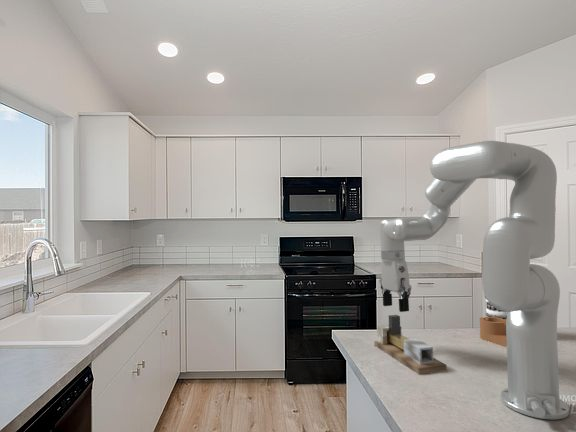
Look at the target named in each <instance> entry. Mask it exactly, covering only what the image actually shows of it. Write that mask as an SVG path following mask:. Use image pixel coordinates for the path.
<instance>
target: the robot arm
mask: <svg viewBox="0 0 576 432" xmlns="http://www.w3.org/2000/svg"><path fill="white" fill-rule="evenodd" d="M429 170H430V174H431V175H432V177H433V179H432V180H431V181H430V182H429V183H428V185H426V187H425V188H424V195H425V197H426V199H427V200H428V202H430V203H431V205H430V206H429V208H428V209H427V210H426V212H425V213H424V214H422V215H421V216H403V217H397V218H396V217H395V218H389V219H388V218H387V219H385V218H384V219H382V220H380V222H379V237H380V239H379V240H380V255H381V256H380V257H381V259H380V260H381V274H380V275H381V278H380V279H379V284H380V289H381V294H382V305H383V306H384V307H391V306H393V294H392V293H391V292H394V293H397V295H398V296H399V298H398V310H399V312H400V313H405V312H409V311H410V301H409V299H410V296H411V294H412V293H411V291H412V285H411V284H410V277H409V269H408V265H407V261H406V252H405V251H406V250H405V242H414V241H426V240H428V239H430V238H432V237H433V236H435V234H437V233H438V232H439V230H441V229H442V228H443V227H444V226H445V224H447V222H448V219H449V216H450V212H451V207H452V205H454V203H455V202H456V201H457V200H458V199H459V198H460V197H461V196H462V195H463V194H464V193H465V192H466V191H467V190H468V189H469V188H470V187H471V186H472V185H473V183H475V181H476V180H477V179H493V180H494V179H496V180H509V181H513V182H514V186H513V188H512V189H511V190H512V191H511V193H510V198H509V214H508V216H506V217H502V218H499V219H496V220H495V221H494V222H492V223H491V224H490V225H489V226H488V228H487V230H486V232H485V234H484V237H483V242H482V243H483V245H482V247H483V248H482V271H481V272H482V276H481V277H482V279H481V281H482V290H483V291H482V292H483V295H484V298H485V297H486V298H485V299H487V300H488V302H489V303H490V304H491V305H492V306H493V307H495V308H496V309H498V310H501V311H504V312H507V319H506V339H507V347H506V361H507V362H506V365H507V386H508V387H507V388H505V389H503V390H502V391H501V392H500V400H501V401H502V403H503V404H504V405H505V406H507V407H509V409H511V410H513V411H514V412H517V413H519V414H522V415H525V416H529V417H532V418H536V419H541V420H552V421H553V420H554V421H555V420H562V419H565V418H567V417H568V416H569V415H570V409H569V408H570V407H569V406H568V404H567V403H566V402H565V401H564V400H563V399H561V398H560V375H559V356H558V355H559V353H558V352H559V351H558V350H559V349H558V313H559V312H558V311H559V303H560V297H561V288H560V284H559V280H558V279H557V277H556V275H555V274H554V273H553V272H552V271H551V270H550V269H549V268H547V267H545V266H542V265H540V264H539V265H538V264H536V263H535V264H534V263H531V260H534V259H535V260H536V259H540V258H543V257H546V256H548V255H549V254H550V253H551V252H552V251H553V249H554V246H555V241H556V240H555V239H556V238H555V237H556V196H557V180H558V179H557V178H558V174H557V167H556V165H555V163H554V161H553V160H552V158H551V157H550V156H549V155H548V154H547V153H545V152H544V151H543V150H540V149H538V148H535V147H532V146H528V145H525V144H520V143H514V142H513V143H512V142H507V141H500V140H499V141H498V140H483V141H476V142H472V143H466V144H461V145H456V146H449V147H445V148H443V149H441V150H439V151H438V152H437V153H435V155H434V156H433V157H432V159H431V161H430V163H429Z"/></svg>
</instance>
